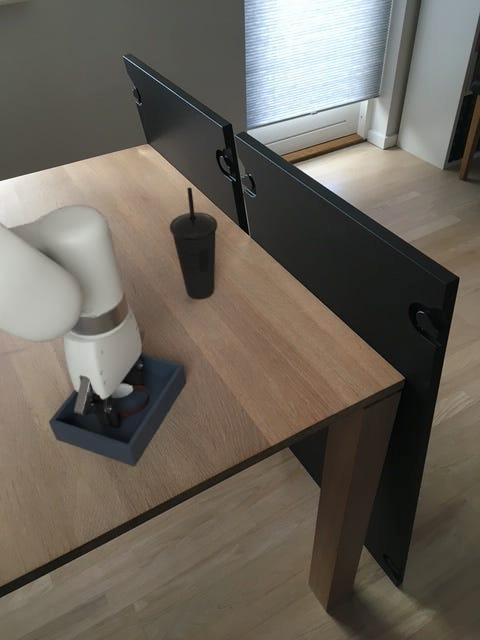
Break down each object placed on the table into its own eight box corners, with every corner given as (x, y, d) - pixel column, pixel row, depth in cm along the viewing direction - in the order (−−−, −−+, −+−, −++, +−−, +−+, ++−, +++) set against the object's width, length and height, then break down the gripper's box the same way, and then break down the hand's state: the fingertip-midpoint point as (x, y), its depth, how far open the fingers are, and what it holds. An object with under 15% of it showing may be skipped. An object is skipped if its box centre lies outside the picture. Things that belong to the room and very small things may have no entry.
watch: (147, 389, 78) (143, 372, 76) (153, 413, 75) (149, 396, 72) (94, 402, 77) (88, 385, 74) (98, 428, 73) (92, 411, 71)
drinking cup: (228, 281, 97) (221, 180, 84) (212, 308, 92) (203, 204, 78) (189, 274, 99) (176, 174, 86) (172, 300, 94) (155, 197, 80)
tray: (134, 466, 69) (129, 449, 66) (56, 439, 73) (48, 421, 70) (186, 382, 79) (183, 364, 77) (115, 362, 83) (110, 344, 80)
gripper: (107, 261, 70) (130, 357, 82) (22, 350, 59) (64, 446, 71) (157, 272, 68) (174, 369, 80) (79, 366, 56) (113, 463, 68)
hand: (122, 405), depth 75 cm, fingers closed on watch, 6 cm apart
